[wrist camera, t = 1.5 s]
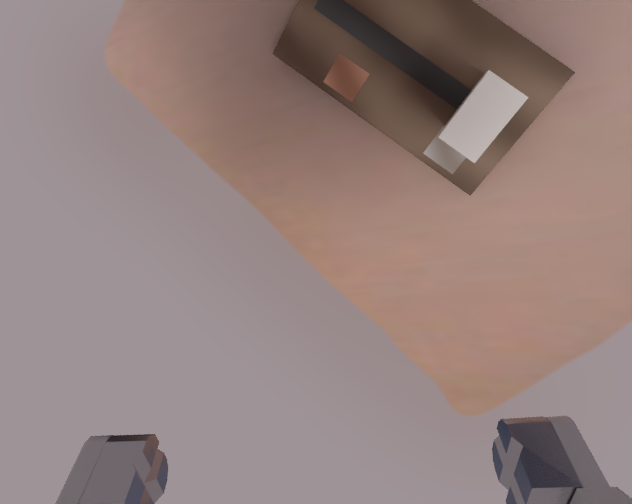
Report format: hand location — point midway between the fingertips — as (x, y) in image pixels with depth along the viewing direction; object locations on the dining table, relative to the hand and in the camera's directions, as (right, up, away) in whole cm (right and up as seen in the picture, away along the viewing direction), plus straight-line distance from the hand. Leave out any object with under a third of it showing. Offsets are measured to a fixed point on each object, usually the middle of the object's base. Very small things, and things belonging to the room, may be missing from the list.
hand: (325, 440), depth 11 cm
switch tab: (+13, +16, +26) cm, 34 cm away
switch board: (+8, +21, +28) cm, 36 cm away
